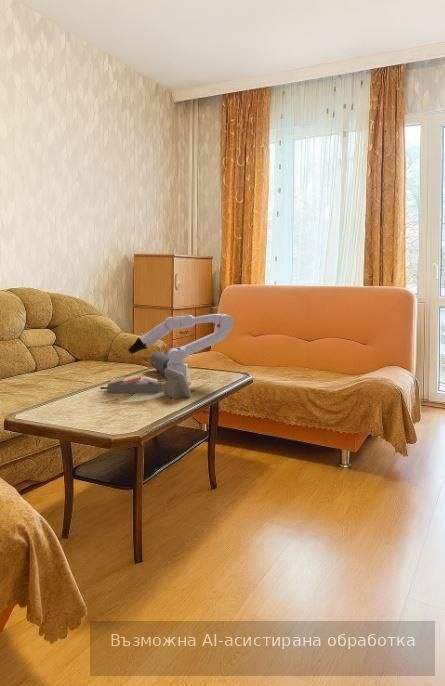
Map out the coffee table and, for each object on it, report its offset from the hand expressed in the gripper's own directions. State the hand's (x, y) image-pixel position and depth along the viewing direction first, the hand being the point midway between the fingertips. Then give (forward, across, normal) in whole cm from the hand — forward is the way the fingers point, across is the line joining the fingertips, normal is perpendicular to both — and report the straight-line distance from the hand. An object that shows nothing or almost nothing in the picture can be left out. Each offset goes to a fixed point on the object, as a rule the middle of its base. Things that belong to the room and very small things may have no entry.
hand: (130, 351), depth 236 cm
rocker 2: (+5, +12, +12) cm, 17 cm away
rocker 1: (+11, +11, +8) cm, 17 cm away
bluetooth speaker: (-5, -25, +17) cm, 31 cm away
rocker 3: (-1, +12, +16) cm, 20 cm away
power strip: (+9, +9, +15) cm, 19 cm away
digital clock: (-7, +19, +28) cm, 34 cm away
